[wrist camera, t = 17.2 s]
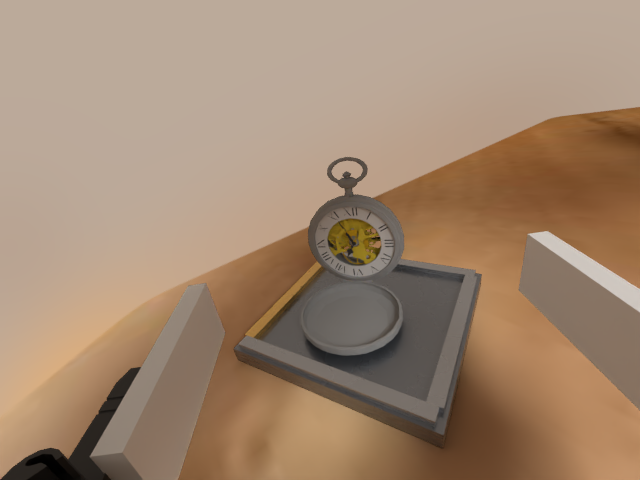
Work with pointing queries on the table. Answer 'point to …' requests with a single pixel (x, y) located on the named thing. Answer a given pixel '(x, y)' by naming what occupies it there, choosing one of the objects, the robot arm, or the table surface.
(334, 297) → the pocket watch
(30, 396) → the table surface
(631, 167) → the table surface
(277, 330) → the pocket plate
